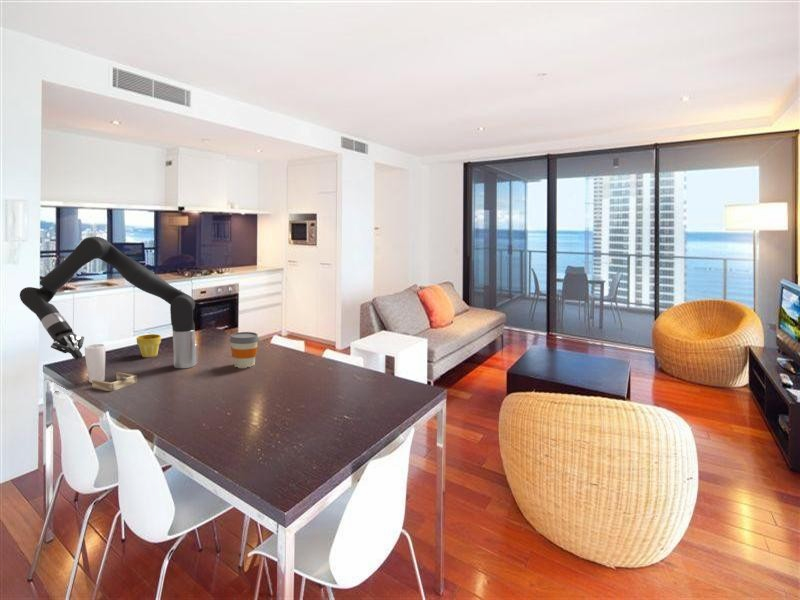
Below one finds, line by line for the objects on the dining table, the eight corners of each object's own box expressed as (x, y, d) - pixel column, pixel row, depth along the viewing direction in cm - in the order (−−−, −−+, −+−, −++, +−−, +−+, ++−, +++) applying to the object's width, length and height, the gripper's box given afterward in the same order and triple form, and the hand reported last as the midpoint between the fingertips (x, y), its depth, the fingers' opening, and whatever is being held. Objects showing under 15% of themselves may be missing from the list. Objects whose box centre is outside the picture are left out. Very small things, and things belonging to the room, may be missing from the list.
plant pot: (144, 360, 208) (143, 340, 206) (133, 355, 214) (132, 336, 212) (165, 355, 217) (164, 336, 215) (154, 351, 222) (153, 333, 221)
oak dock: (119, 378, 181) (118, 370, 181) (138, 382, 178) (137, 373, 178) (92, 387, 171) (91, 378, 170) (112, 391, 168) (111, 382, 167)
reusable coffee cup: (258, 361, 214) (258, 331, 212) (258, 368, 202) (258, 337, 200) (231, 362, 210) (230, 332, 208) (229, 370, 198) (229, 338, 196)
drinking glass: (96, 385, 174) (94, 348, 171) (82, 383, 175) (80, 347, 173) (111, 379, 180) (109, 344, 178) (97, 378, 181) (95, 343, 179)
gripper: (43, 323, 173) (67, 357, 171) (76, 318, 186) (99, 349, 184) (35, 334, 176) (58, 368, 174) (68, 328, 188) (91, 359, 186)
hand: (79, 358), depth 179 cm, fingers closed
